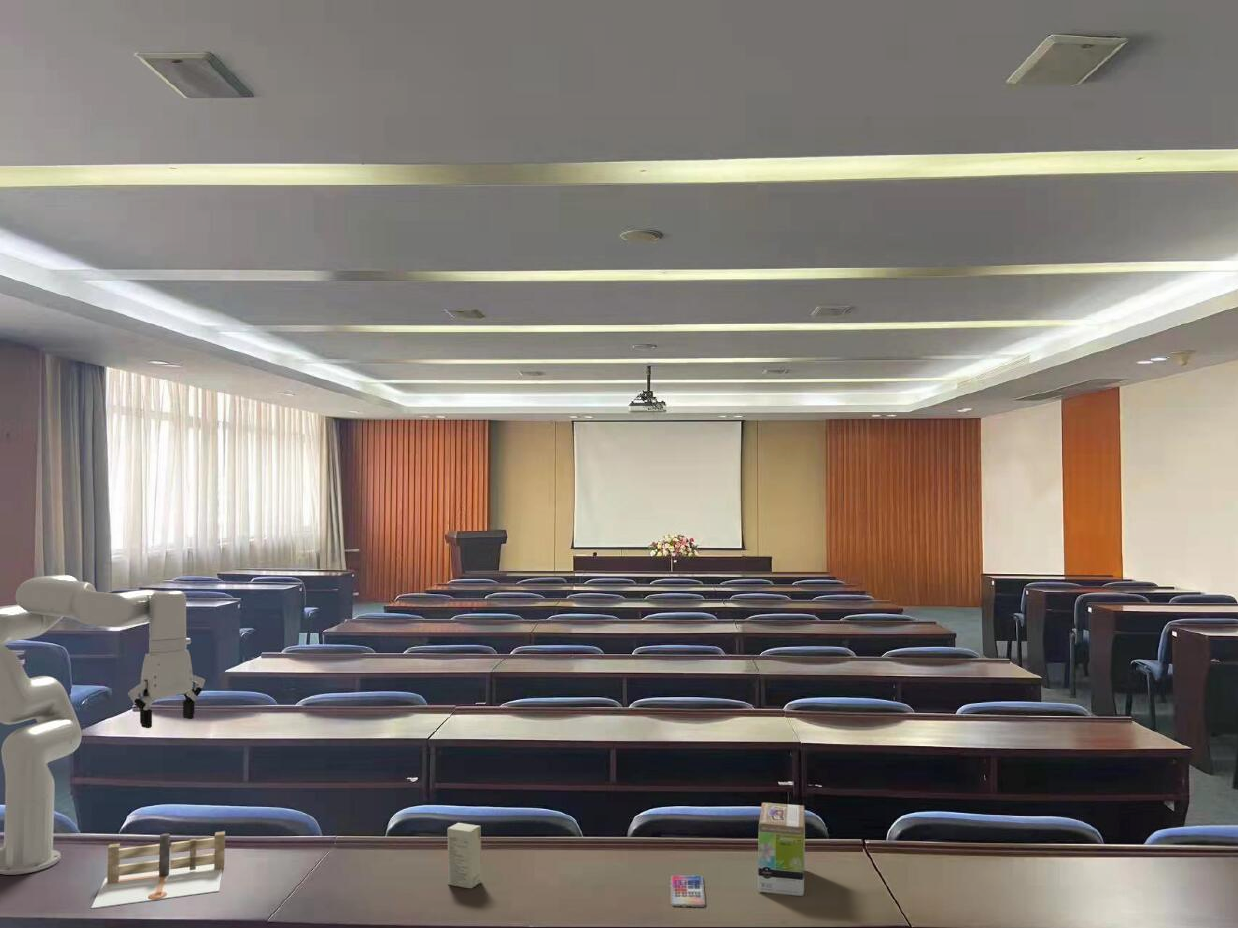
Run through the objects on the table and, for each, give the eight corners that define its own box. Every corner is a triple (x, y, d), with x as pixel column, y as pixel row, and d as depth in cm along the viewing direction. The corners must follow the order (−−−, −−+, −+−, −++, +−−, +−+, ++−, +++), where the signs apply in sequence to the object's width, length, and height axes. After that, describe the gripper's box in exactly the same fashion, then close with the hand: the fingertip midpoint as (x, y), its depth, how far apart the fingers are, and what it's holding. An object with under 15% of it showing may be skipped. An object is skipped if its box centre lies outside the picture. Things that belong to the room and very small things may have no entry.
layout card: (91, 909, 186) (91, 907, 186) (105, 878, 201) (105, 877, 201) (219, 891, 194) (219, 890, 194) (223, 863, 209) (223, 862, 209)
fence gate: (170, 874, 202) (170, 840, 202) (171, 871, 204) (171, 837, 204) (223, 867, 205) (224, 834, 206) (224, 864, 207) (225, 831, 208)
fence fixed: (107, 885, 197) (108, 843, 198) (108, 881, 199) (109, 839, 200) (168, 877, 202) (169, 836, 202) (169, 873, 203) (170, 833, 204)
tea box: (805, 897, 192) (804, 826, 192) (757, 893, 194) (756, 822, 194) (805, 869, 206) (804, 803, 207) (760, 865, 208) (760, 800, 209)
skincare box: (482, 882, 199) (482, 825, 200) (470, 889, 195) (471, 831, 196) (457, 877, 202) (458, 821, 202) (446, 884, 198) (446, 827, 198)
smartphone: (670, 904, 187) (670, 874, 202) (670, 909, 187) (670, 879, 202) (706, 904, 187) (703, 874, 202) (706, 909, 187) (703, 879, 202)
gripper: (194, 640, 214) (194, 713, 213) (120, 650, 200) (120, 729, 199) (213, 641, 210) (213, 716, 209) (138, 652, 196) (138, 733, 195)
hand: (167, 722), depth 204 cm, fingers open, 9 cm apart
